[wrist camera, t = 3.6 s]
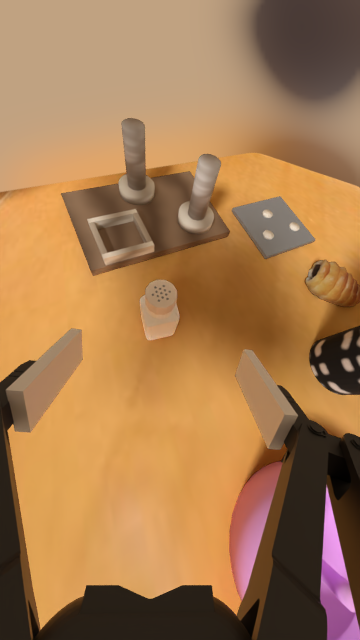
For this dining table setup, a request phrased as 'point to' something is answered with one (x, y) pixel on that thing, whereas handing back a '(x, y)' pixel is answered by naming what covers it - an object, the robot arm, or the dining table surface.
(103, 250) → the pin board
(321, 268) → the pastry
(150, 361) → the dining table surface
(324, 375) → the spotted tube
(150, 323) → the pepper shaker
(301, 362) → the dining table surface
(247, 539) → the container set
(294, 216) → the tile
